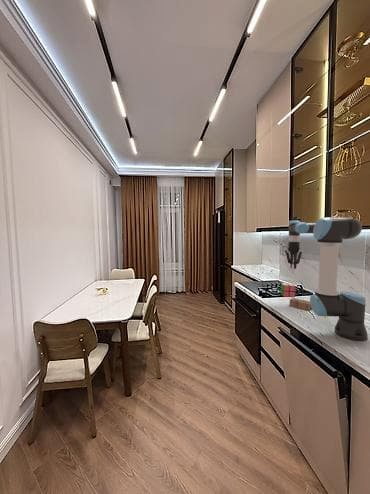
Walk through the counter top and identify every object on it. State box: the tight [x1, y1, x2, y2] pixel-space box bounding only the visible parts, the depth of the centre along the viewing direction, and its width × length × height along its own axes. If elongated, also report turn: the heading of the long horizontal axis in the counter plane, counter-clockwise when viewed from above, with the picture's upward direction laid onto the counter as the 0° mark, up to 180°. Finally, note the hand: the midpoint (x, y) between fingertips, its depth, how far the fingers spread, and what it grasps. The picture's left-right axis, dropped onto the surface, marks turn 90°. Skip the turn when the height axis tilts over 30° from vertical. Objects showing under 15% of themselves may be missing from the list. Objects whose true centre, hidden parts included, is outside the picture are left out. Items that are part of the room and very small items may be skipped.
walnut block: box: [288, 297, 313, 312], centre depth 179 cm, size 7×5×14 cm
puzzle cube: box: [280, 282, 296, 298], centre depth 211 cm, size 10×10×10 cm
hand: (293, 273), depth 180 cm, fingers closed
